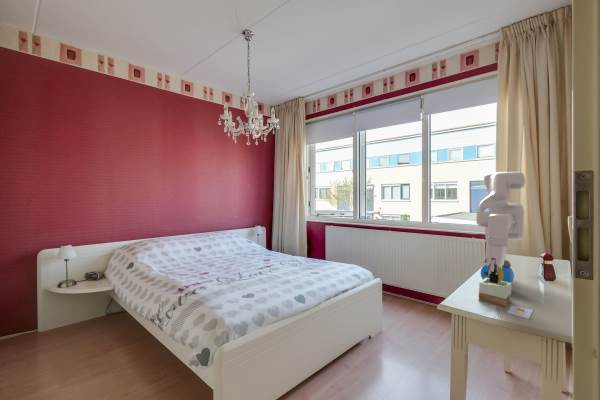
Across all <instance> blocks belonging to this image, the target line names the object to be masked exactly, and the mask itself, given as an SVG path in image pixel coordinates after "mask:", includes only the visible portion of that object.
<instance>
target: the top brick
mask: <svg viewBox="0 0 600 400" xmlns="http://www.w3.org/2000/svg"><path fill="white" fill-rule="evenodd" d="M512 283H513V282H512ZM512 283H509V282H504V281H500V282H498V284H496V283H491V282H489V278H484V279H482V280H480V282H479V283H478V293H479V292H480V293H484V294H488V295H492V296H496V297H500V298H504V299H506V298H507V297H508V296H509V295H510V294H511V295H512Z"/></svg>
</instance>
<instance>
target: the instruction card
mask: <svg viewBox="0 0 600 400" xmlns="http://www.w3.org/2000/svg"><path fill="white" fill-rule="evenodd" d="M533 312H534V310H531V309H527V308H524V307H520V306H515V305H511V306H510V308H509V309H508V310H507V312H506V313H507V314H508V315H513V316H517V317H520V318H522V319H527V320H529V319H530V317H531V316H532V314H533Z"/></svg>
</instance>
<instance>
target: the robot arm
mask: <svg viewBox="0 0 600 400" xmlns="http://www.w3.org/2000/svg"><path fill="white" fill-rule="evenodd" d="M483 181H484V185H485V188H486V190H487V192H488V195H487V196H486V197H484V198H483V199H482V200H481V201H480V202H479V203H478V205H477V209H476V219H475V221H476V224H477V226H479V227H481V228H484V235H485V256H484V257H485V258H484V260H485V259H486V258H487V263H485V262H484V265H485V264H486V265H487V266H488V267H489V266H490V265H491V266H490V276H489V282H491V283H496V284H498V268H501V269H502V266H503V265H504V260H506V259H507V247H508V246H509V245H508V244H509V242H508V241H521V240H522V239H523V237H524V224H525V223H524V221H525V209H524V207H523V205H522V204H520V203H512V202H511V203H510V202H508V201H509V199H510V189H511V190H513V189H514V190H521V189H523V188H524V187H525V184H526V176H525V173H523V172H521V171H492V172H487V173H485V174H484V177H483ZM486 209H488V211H485V210H486ZM495 266H497V267H495ZM495 269H496V270H495Z"/></svg>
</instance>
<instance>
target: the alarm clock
mask: <svg viewBox="0 0 600 400" xmlns="http://www.w3.org/2000/svg"><path fill="white" fill-rule="evenodd" d="M483 261H484V265H483V266H482V267H481V269H480V277H481V279H482V280H483V279H484V278H489V270H490V266H491V265H490V266H489V267H488V266H487V265H486V264H485V263H487V258H486V259H485V258H484V260H483ZM511 267H512V264H511V262H509V260H508V259H507V260H504V265H503V266H502V271H503V274H504V276H503V279H502V281H504V282H509V283H513V282H514V279H515V274H514V271H513V270H512V268H511Z"/></svg>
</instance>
